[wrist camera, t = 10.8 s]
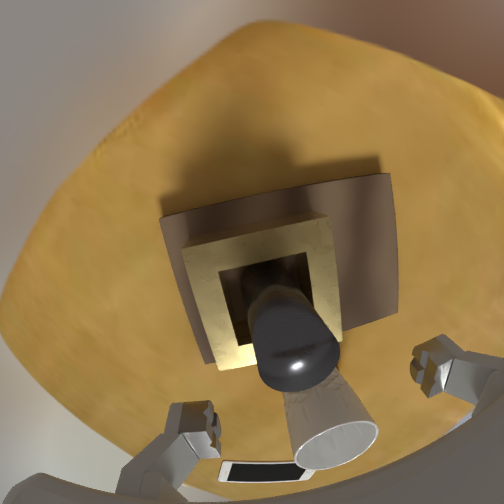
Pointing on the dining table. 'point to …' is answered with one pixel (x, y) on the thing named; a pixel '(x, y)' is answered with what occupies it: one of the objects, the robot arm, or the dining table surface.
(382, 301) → the walnut board
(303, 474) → the cell phone
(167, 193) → the dining table surface
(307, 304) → the steel pin
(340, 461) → the white cup
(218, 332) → the square brass washer
